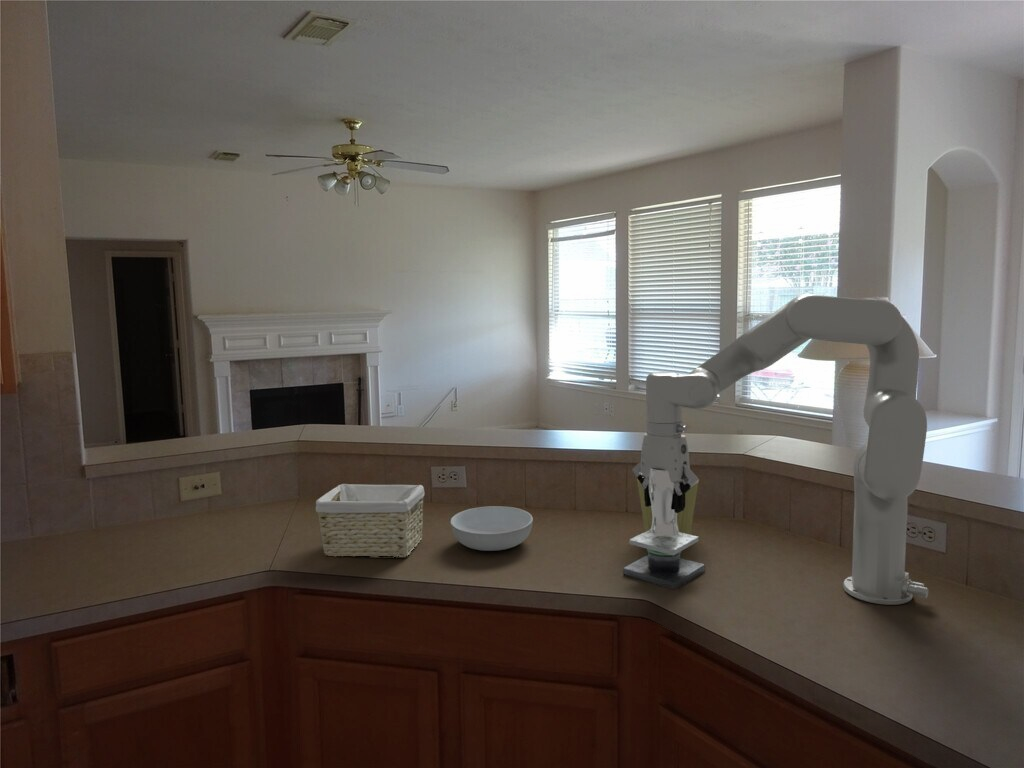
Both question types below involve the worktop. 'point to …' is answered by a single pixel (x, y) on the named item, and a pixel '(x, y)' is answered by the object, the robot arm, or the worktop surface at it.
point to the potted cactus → (682, 517)
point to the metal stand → (664, 560)
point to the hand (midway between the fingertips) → (664, 507)
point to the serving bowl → (491, 527)
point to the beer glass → (662, 503)
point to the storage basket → (371, 519)
